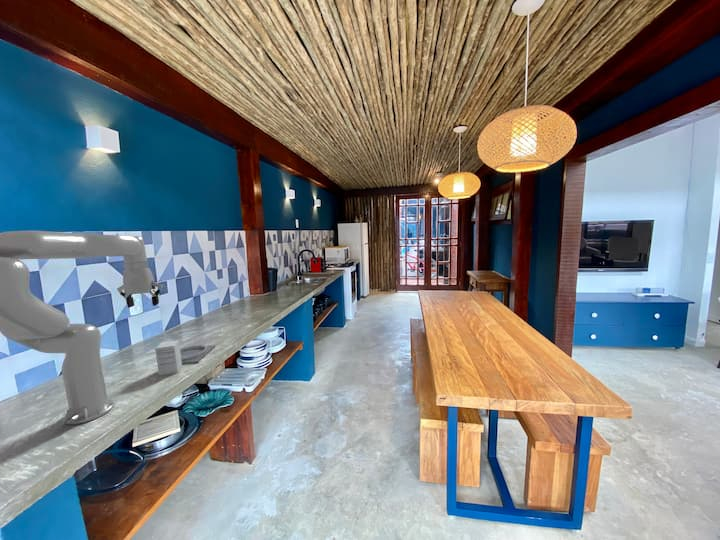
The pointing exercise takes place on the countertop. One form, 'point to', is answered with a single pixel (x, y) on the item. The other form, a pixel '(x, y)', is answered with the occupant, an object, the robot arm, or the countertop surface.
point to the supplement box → (168, 357)
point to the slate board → (195, 351)
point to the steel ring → (194, 354)
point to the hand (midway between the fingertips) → (143, 305)
